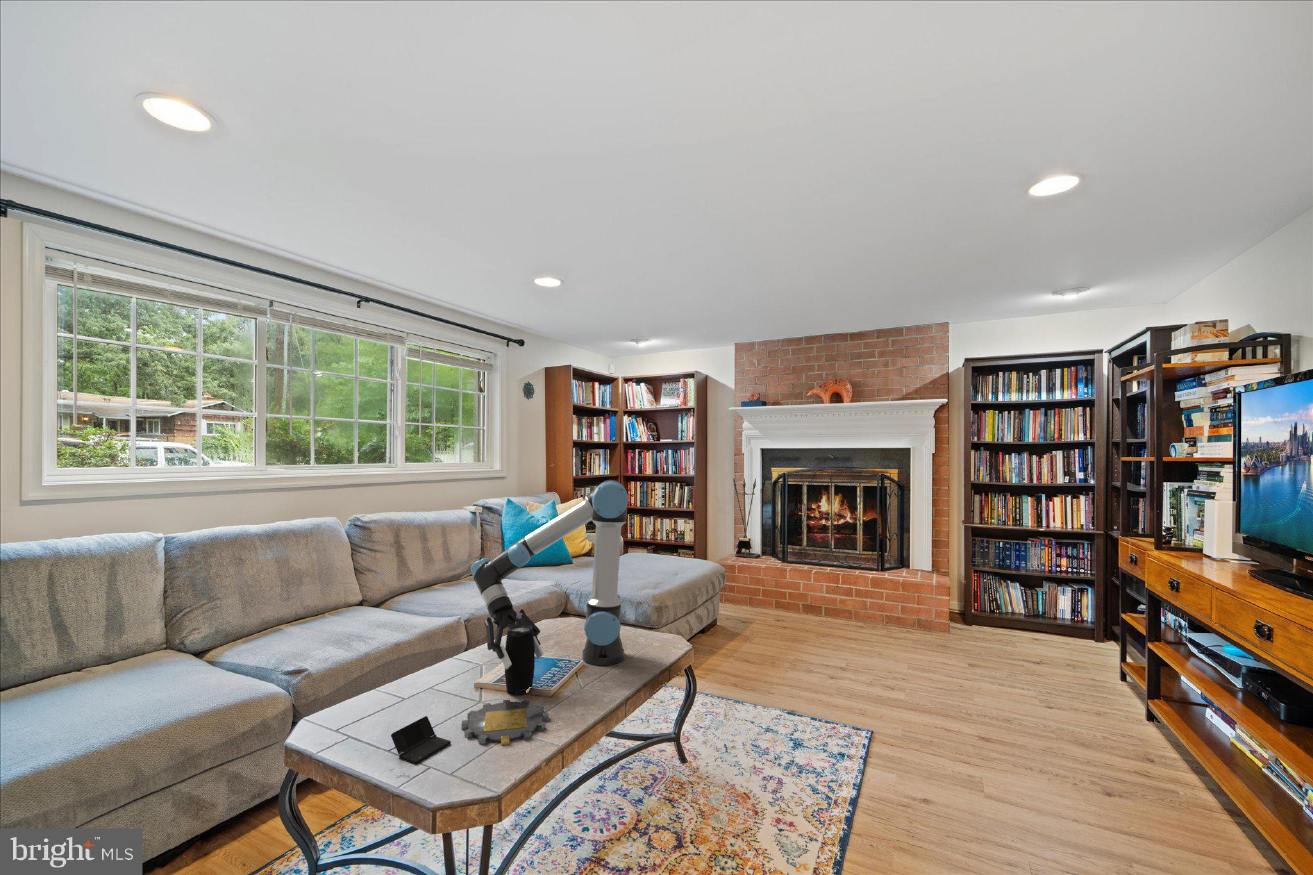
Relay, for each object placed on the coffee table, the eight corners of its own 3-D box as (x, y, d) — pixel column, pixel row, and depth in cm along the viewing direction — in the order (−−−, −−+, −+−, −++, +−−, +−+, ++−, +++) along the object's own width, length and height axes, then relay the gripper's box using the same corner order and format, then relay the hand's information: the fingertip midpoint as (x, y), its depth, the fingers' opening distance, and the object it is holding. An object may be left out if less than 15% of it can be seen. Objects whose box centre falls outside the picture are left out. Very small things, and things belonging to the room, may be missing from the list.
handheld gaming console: (424, 759, 135) (407, 720, 138) (402, 775, 136) (386, 735, 139) (455, 743, 146) (438, 707, 149) (434, 757, 147) (418, 721, 150)
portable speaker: (538, 686, 180) (540, 624, 181) (523, 698, 172) (524, 633, 172) (515, 682, 183) (516, 621, 183) (498, 694, 174) (499, 630, 175)
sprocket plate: (465, 708, 165) (465, 702, 165) (546, 701, 170) (546, 695, 170) (457, 749, 142) (457, 742, 142) (550, 739, 148) (550, 732, 148)
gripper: (522, 601, 197) (550, 657, 186) (460, 615, 179) (486, 679, 169) (532, 588, 193) (560, 645, 183) (469, 602, 176) (497, 665, 165)
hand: (525, 661), depth 176 cm, fingers open, 11 cm apart
